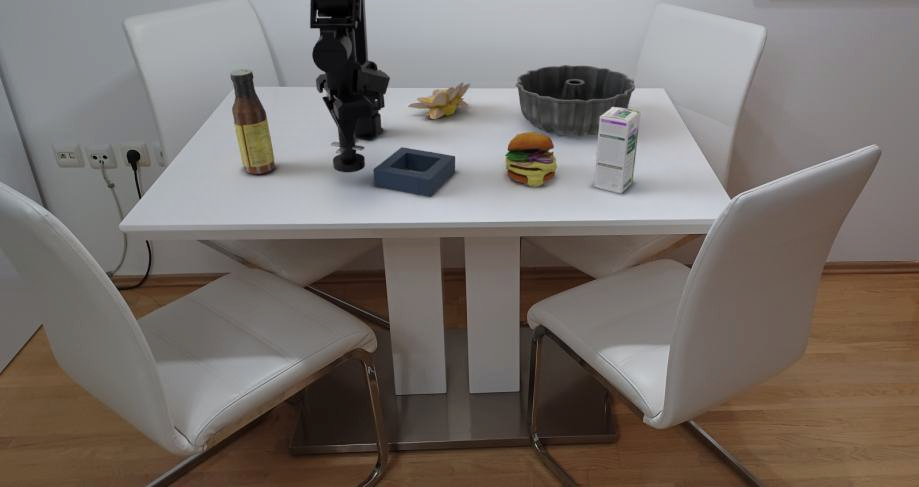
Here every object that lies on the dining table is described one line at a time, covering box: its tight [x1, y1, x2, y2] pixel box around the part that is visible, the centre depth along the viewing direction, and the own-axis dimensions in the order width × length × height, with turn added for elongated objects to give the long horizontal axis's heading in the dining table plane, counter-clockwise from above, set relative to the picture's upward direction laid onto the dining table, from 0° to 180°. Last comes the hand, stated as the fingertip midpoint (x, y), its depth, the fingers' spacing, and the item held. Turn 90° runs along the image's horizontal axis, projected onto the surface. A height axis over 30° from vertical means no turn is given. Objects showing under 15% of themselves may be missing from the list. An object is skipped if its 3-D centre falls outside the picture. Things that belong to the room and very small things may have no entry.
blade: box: [330, 126, 366, 173], centre depth 135 cm, size 7×7×10 cm
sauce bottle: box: [229, 68, 275, 175], centre depth 139 cm, size 6×6×20 cm
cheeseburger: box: [504, 131, 558, 188], centre depth 139 cm, size 10×11×10 cm
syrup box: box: [593, 107, 641, 194], centre depth 133 cm, size 6×6×14 cm
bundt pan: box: [515, 64, 636, 137], centre depth 163 cm, size 26×26×10 cm
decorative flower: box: [407, 82, 471, 120], centre depth 169 cm, size 15×11×10 cm
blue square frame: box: [372, 146, 456, 197], centre depth 139 cm, size 12×12×4 cm
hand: (347, 139), depth 134 cm, fingers closed on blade, 3 cm apart
